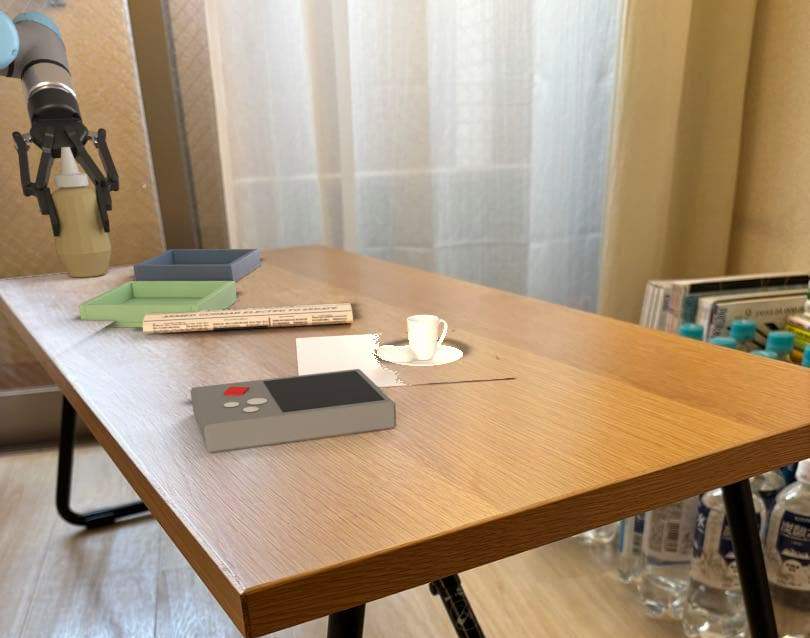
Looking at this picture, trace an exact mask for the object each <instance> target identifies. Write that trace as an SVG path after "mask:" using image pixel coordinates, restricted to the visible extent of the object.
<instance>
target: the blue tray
mask: <svg viewBox="0 0 810 638" xmlns="http://www.w3.org/2000/svg"><path fill="white" fill-rule="evenodd" d="M260 253H261V252H260V249H259V248H192V249H191V248H181V249H180V248H176V249H173V248H172V249H171V248H170V249H167V250H165V251H163V252H161V253H159V254H157V255H154V256H152V257H150V258H148V259H145V260H143V261H141V262H138V263H136V264H134V265H133V266H132V267H133V273H134V279H135V280H134V281H235V284H236V283H237V282H238V281H240V280H242V279H243V278H245V277H247V276H248V275H250V274H251V273H252V272H254V271H255V270H256V269H258V268H260V267H262V266H261V265H262V263H261V255H260Z"/></svg>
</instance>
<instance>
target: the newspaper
mask: <svg viewBox="0 0 810 638" xmlns="http://www.w3.org/2000/svg"><path fill="white" fill-rule="evenodd" d="M351 323H352V324H353V323H354V314H353V309H352V305H351V302H345V303H326V304H307V305H288V306H287V305H285V306H267V307H266V306H265V307H264V306H263V307H247V308H246V307H245V308H227V309H224V310H205V311H199V312H167V313H147V314H146V315H145V317H144V320H143V327H142V332H143V334H144V335H148V334H164V333H165V334H166V333H184V332H185V333H188V332H203V331H204V332H205V331H222V330H223V331H225V330H241V329H244V330H245V329H260V328H261V329H263V328H278V327H280V328H281V327H298V326H299V327H300V326H319V325H335V324H336V325H337V324H351Z"/></svg>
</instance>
